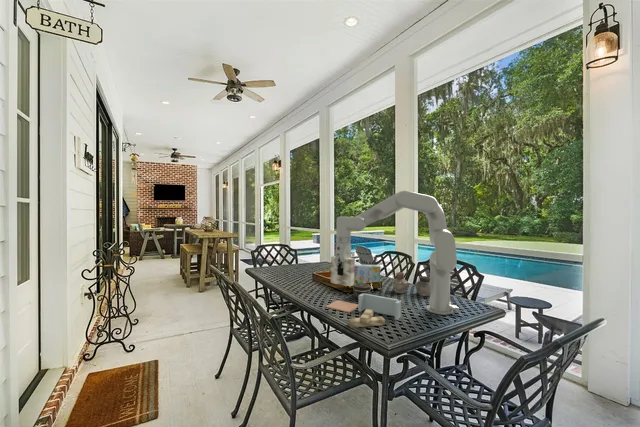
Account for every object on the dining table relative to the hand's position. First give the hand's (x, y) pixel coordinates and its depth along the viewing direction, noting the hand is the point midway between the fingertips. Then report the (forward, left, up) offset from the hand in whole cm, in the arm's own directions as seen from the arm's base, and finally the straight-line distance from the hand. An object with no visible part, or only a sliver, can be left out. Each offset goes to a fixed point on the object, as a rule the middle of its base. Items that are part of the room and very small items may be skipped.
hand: (342, 273), depth 160 cm
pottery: (-24, -45, -18) cm, 54 cm away
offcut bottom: (-21, +14, -18) cm, 31 cm away
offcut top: (-21, +14, -15) cm, 29 cm away
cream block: (0, 0, -5) cm, 5 cm away
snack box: (+6, -38, -18) cm, 42 cm away
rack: (-20, -1, -17) cm, 27 cm away
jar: (-2, -19, -18) cm, 26 cm away
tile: (0, 0, -17) cm, 18 cm away
